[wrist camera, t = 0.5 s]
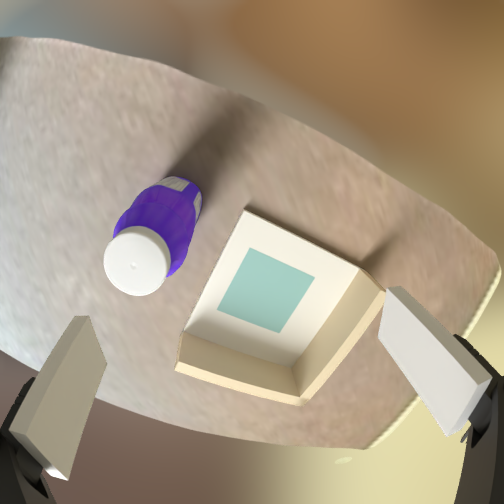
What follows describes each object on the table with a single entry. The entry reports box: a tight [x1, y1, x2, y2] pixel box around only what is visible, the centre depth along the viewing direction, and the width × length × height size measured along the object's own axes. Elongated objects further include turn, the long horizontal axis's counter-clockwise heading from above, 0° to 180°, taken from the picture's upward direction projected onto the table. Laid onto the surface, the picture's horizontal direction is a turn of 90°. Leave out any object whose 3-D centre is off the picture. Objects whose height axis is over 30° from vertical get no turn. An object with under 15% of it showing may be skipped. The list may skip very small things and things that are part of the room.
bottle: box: [104, 176, 202, 296], centre depth 25 cm, size 7×6×17 cm
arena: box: [174, 209, 386, 407], centre depth 35 cm, size 18×19×7 cm
